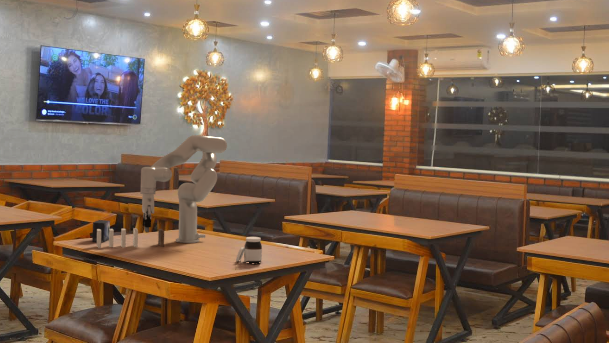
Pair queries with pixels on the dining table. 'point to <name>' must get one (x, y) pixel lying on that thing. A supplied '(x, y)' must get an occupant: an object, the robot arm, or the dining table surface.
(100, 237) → the domino
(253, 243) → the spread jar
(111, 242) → the domino
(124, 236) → the domino
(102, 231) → the small box
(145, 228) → the end domino
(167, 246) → the dining table surface
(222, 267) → the dining table surface
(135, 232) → the domino
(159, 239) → the block
